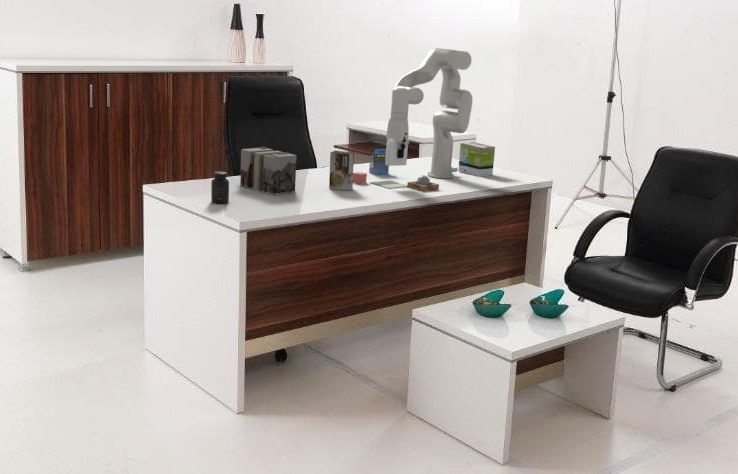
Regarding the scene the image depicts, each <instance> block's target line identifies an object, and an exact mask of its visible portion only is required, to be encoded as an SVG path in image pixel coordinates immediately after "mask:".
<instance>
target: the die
mask: <svg viewBox="0 0 738 474" xmlns="http://www.w3.org/2000/svg"><path fill="white" fill-rule="evenodd" d="M353 184H357V185H363V184H367V173H366V172H359V171H357V172H353Z"/></svg>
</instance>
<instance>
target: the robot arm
mask: <svg viewBox="0 0 738 474" xmlns="http://www.w3.org/2000/svg"><path fill="white" fill-rule="evenodd" d="M471 65H472V56H471V54H470V53H469V51H464V50H456V49H450V48H439V47H438V48H433V49H431V50H430V51H429V52H428V53H427V55H426V56H425V57H424V59H423V61H422V62H421V63H420V65H419V66H418V67H417V68H415V69H414V70H412V71H410V72H408V73H406V74H405V75H403V76H402V77H401V78H399V80H398V81H397V83H396V84H395V85H394V86H393V89H392V92H391V95H392V96H391V108H390V117H389V119H388V123H387V129H386V138H385V139H386V142H387V141H388V140H389V139H394V140H395V142H397V143H398V144H399V149H398V154H397V158H403V157H404V149H405V147H406V146H407V145H408V146H409V144H410V141H409V117H408V116H409V105H419V104H421V103H422V102H423V100H424V92H423V90H422V89H420V88H419V87H415V86H420V85H423V84H427V83H430V82H432V81H433V80H434V79H435V78H436V76H437V74H438V73H439V71H441V73H442V82H441V83H442V84H441V89H440V96H439V104H440V106H441V107H442V108H445V109H452V110H457V112H456V111H449V110H439V111H435V113H434V115H433V117H432V127H433V128H432V129H433V141H432V142H433V143H432V154H431V167H430V171H429V172H427V177H430V178H435V179H453V178H454V177H455V176H454V175H455V174H453V173H455V172H459V171H458V169H459V168H458V167H452V161H453V160H452V158H453V149H454V148H453V146H454V138H453V135H452V133H455V134H464V133H465V132H467V130H468V127H469V125H470V124H469V123H470V118H471V115H472V114H471V113H472V107H473V95H472V93H471V91H469V90H468V89H462V88H460V86H461V82H462V80H461V75H460V72H459V70H461V71H465V70H468V68H469V67H470V66H471ZM401 144H402V145H401Z"/></svg>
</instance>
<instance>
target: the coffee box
mask: <svg viewBox="0 0 738 474" xmlns="http://www.w3.org/2000/svg"><path fill="white" fill-rule="evenodd" d="M329 154H330V155H329V156H330V157H329V178H328V179H329V185H328V189H332V190H340V191H341V190H342V191H348V192H349V191H350V190H352V189H354V188H353V187H354V185H353V184H354V183H353V173H354V166H355V165H354V161H355V159H354V158H355V151H353V152H352V151H345V150H333V151H330V153H329Z"/></svg>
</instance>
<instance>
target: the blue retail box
mask: <svg viewBox="0 0 738 474" xmlns="http://www.w3.org/2000/svg"><path fill="white" fill-rule="evenodd" d="M373 151H374V152H373V154H372V155H370V156H369V165H368V166H369V169H368V173H369V174H371V175H373V176H374V175H382V174H383V175H387V174H389V169H390V166H387V165H386V164H385V159H386V148H374V149H373Z"/></svg>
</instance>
